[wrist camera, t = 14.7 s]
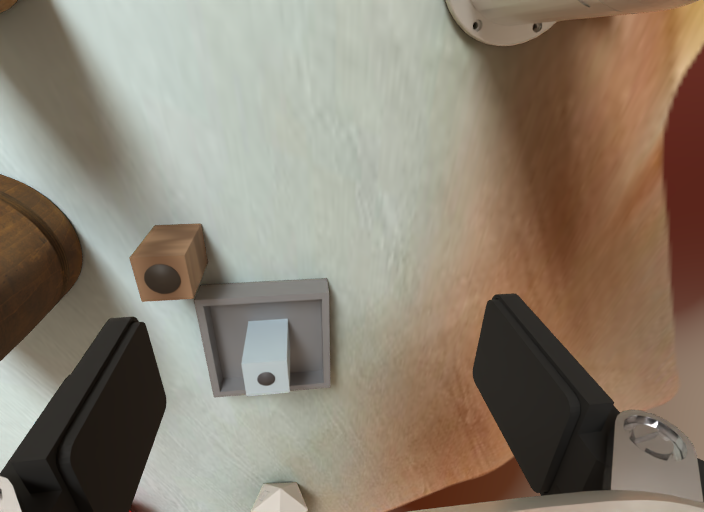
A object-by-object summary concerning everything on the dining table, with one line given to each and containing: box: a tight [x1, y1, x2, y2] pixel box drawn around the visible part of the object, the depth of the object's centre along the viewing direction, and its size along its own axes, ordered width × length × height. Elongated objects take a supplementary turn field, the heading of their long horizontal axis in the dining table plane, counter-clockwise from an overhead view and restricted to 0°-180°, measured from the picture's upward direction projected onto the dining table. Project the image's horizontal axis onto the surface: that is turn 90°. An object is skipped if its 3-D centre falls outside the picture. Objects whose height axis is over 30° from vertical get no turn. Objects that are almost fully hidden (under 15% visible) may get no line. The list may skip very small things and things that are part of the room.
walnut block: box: [130, 224, 208, 302], centre depth 38 cm, size 4×4×7 cm
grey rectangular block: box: [241, 319, 290, 396], centre depth 44 cm, size 4×4×7 cm
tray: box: [194, 278, 330, 397], centre depth 46 cm, size 14×14×3 cm
